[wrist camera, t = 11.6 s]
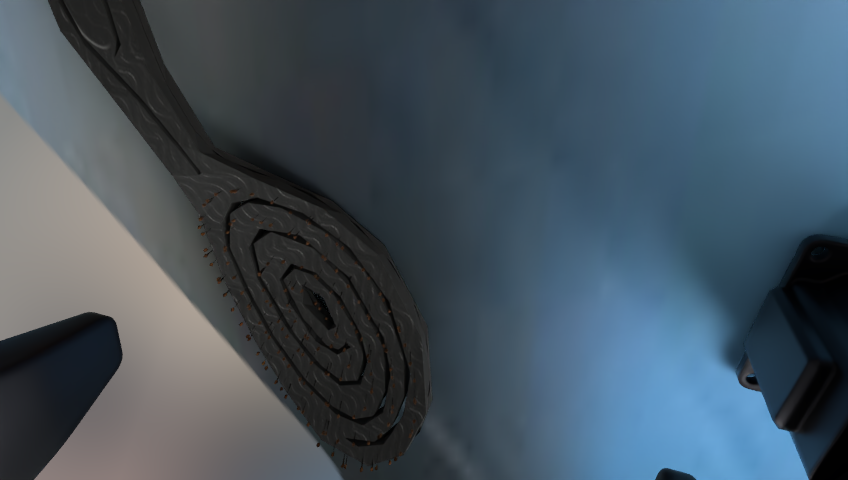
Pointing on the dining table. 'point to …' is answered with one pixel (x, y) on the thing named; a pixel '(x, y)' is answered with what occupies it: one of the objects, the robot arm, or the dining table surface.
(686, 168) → the dining table surface
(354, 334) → the hairbrush
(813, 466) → the robot arm
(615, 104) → the dining table surface
